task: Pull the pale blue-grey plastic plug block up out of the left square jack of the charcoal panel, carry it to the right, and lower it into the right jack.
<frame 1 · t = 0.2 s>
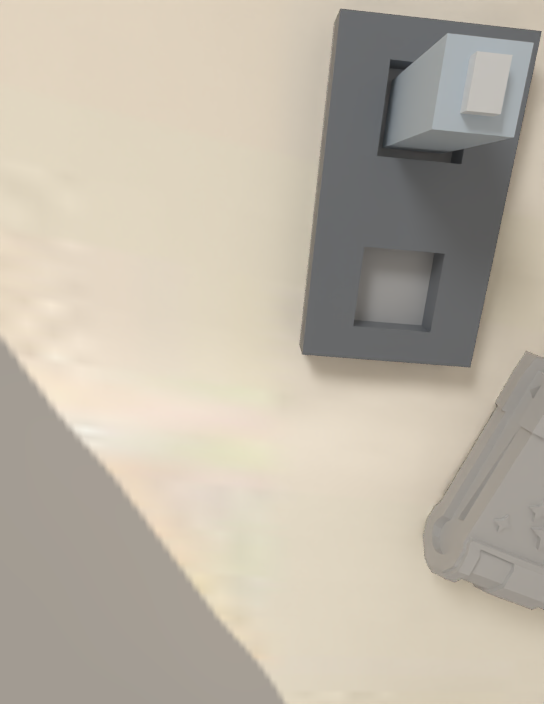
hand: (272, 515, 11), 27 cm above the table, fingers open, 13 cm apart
plug: (417, 118, 33), resting on jack panel
jack panel: (401, 205, 35), on the table
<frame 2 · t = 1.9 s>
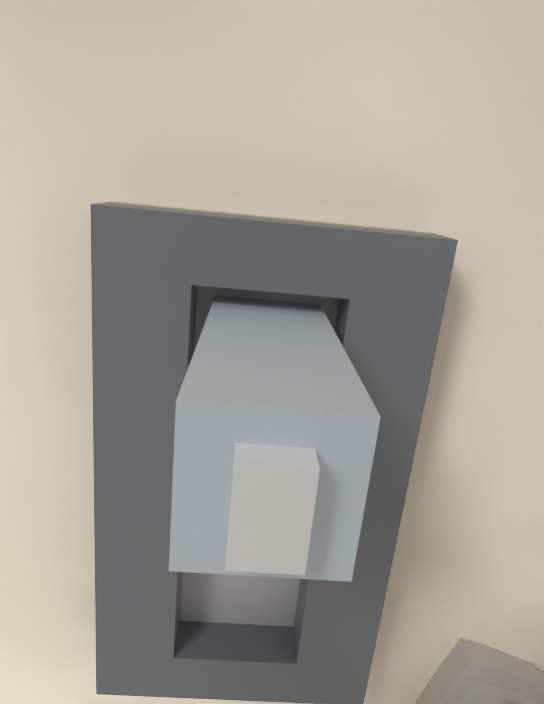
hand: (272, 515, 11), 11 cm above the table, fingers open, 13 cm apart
plug: (263, 349, 20), resting on jack panel
jack panel: (251, 466, 22), on the table
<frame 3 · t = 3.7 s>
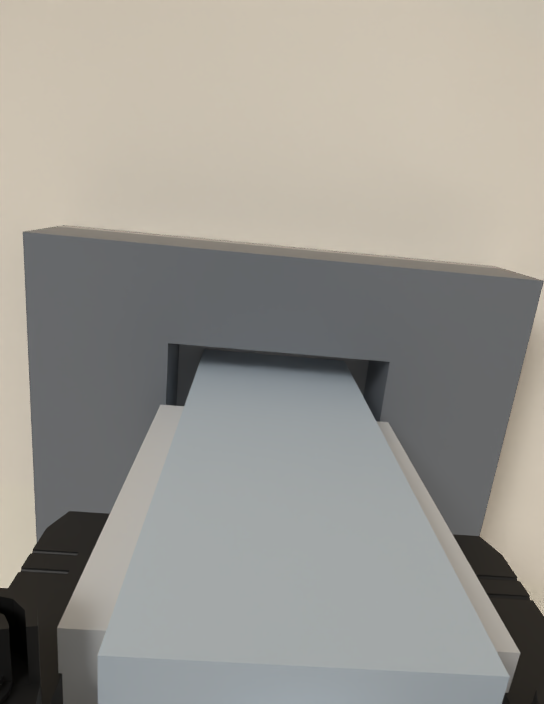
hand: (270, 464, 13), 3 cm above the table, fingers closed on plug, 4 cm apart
plug: (268, 419, 15), point 1 cm above the table, touching gripper, jack panel
jack panel: (252, 563, 17), on the table
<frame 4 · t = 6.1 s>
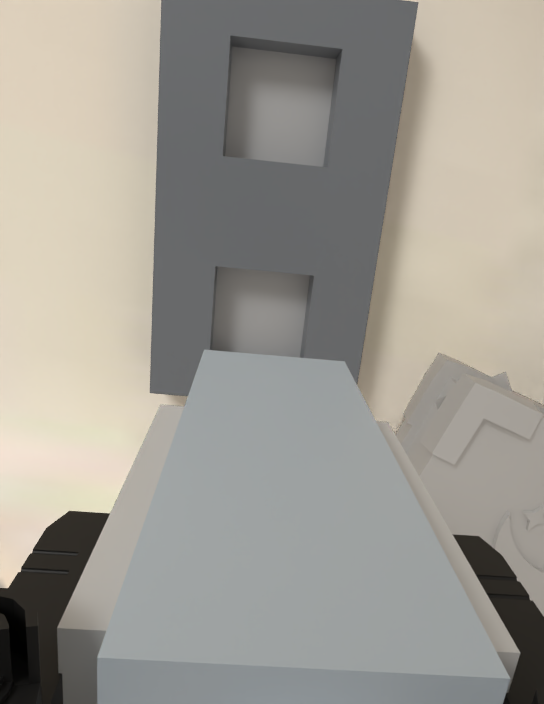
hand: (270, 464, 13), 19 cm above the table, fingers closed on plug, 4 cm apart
plug: (268, 420, 15), point 17 cm above the table, touching gripper
jack panel: (269, 215, 29), on the table
book: (534, 526, 37), on the table
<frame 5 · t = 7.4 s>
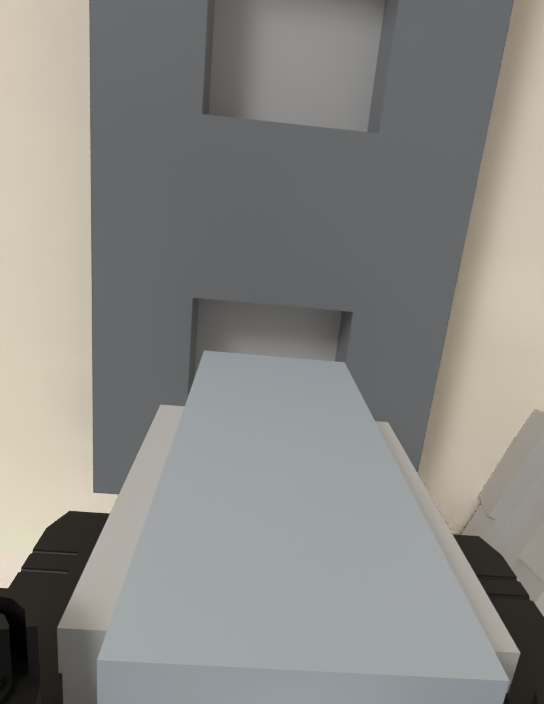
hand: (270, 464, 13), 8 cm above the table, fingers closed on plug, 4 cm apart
plug: (268, 420, 15), point 6 cm above the table, touching gripper
jack panel: (278, 215, 19), on the table
when the fingers open (4 cm above the table, at t = 8.5 s): plug drops 1 cm, resting on jack panel.
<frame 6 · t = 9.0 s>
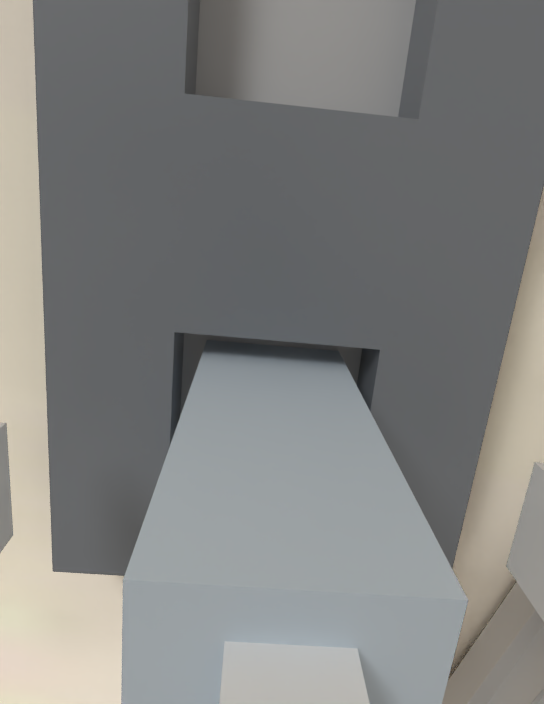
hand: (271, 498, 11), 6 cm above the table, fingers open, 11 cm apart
plug: (267, 406, 16), resting on jack panel
jack panel: (284, 225, 15), on the table
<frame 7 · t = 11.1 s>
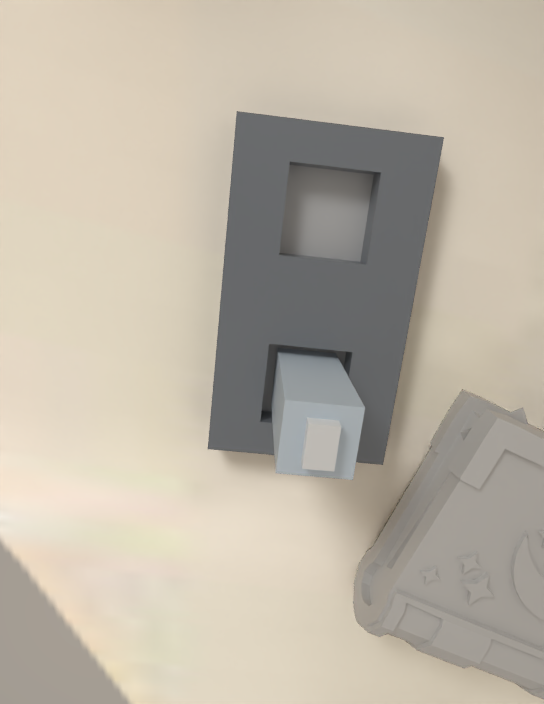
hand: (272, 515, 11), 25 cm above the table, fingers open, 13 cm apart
plug: (302, 378, 35), resting on jack panel
jack panel: (312, 298, 34), on the table
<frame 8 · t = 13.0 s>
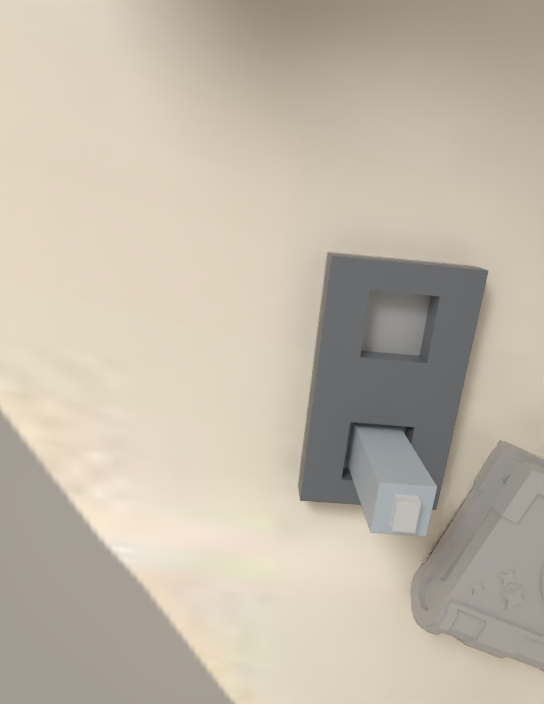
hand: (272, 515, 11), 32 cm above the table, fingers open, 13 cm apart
plug: (372, 442, 45), resting on jack panel
jack panel: (380, 382, 44), on the table
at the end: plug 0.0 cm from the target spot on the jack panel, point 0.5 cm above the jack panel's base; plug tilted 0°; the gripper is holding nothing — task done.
